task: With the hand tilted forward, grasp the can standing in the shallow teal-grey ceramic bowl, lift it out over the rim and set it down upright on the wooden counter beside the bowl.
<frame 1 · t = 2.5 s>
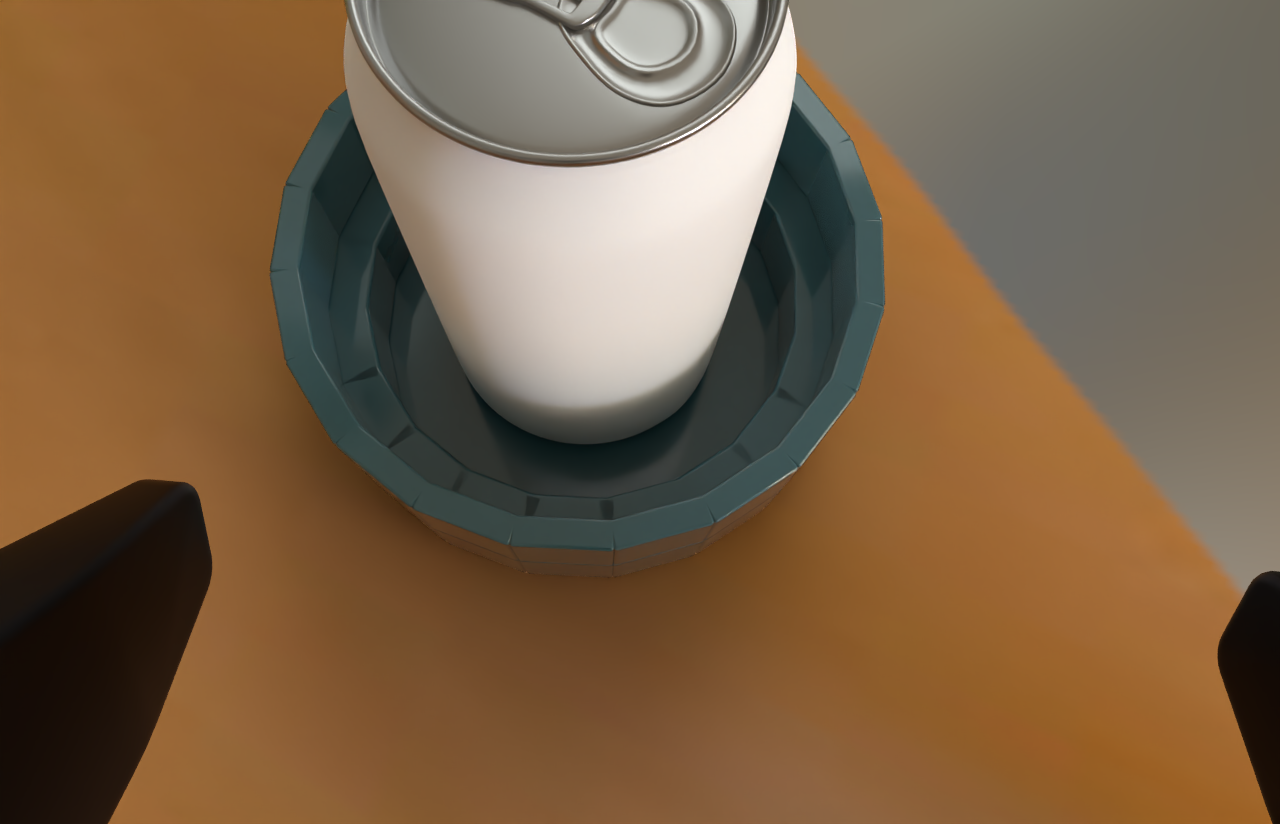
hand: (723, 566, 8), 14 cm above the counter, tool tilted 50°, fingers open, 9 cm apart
bowl: (586, 327, 24), on the counter
can: (586, 326, 24), resting on bowl
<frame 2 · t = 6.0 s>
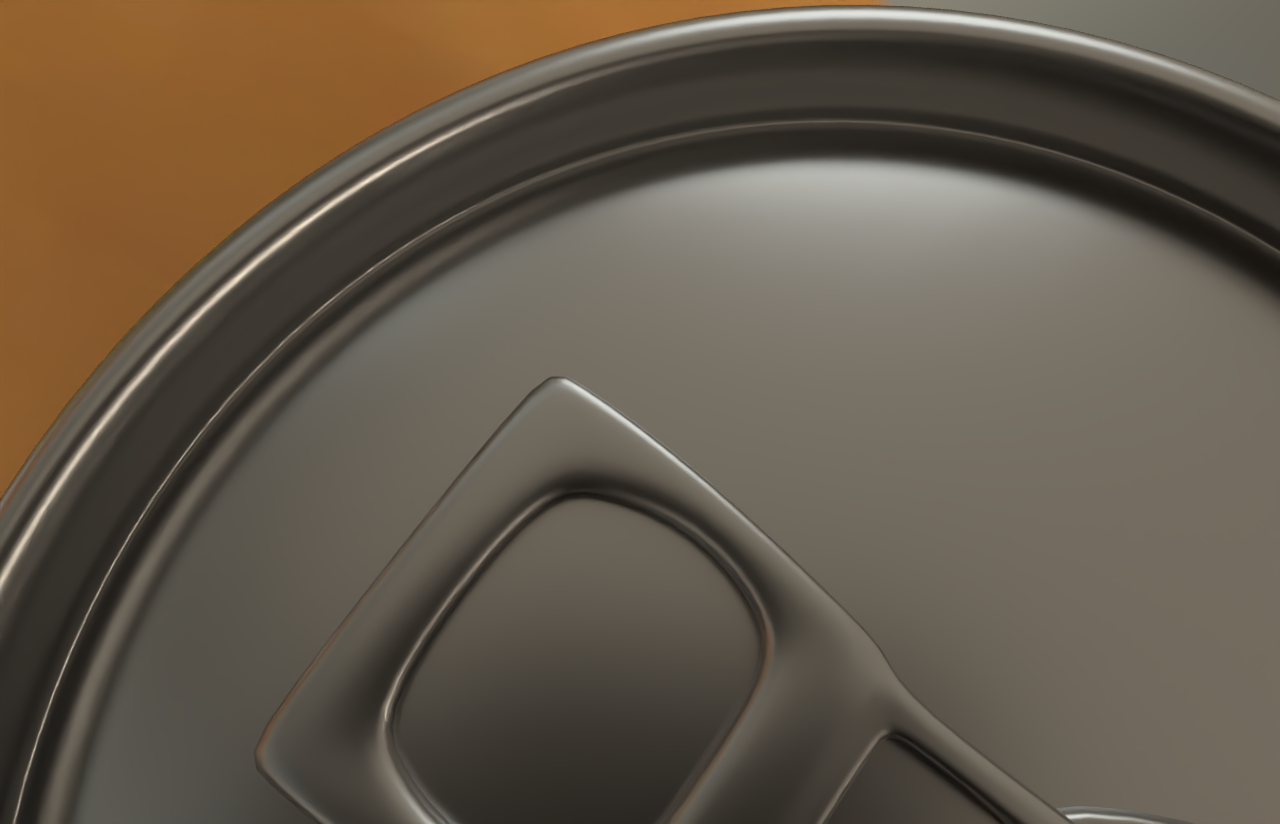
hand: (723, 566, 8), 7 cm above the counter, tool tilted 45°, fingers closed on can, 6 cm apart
can: (664, 692, 14), resting on bowl, touching gripper
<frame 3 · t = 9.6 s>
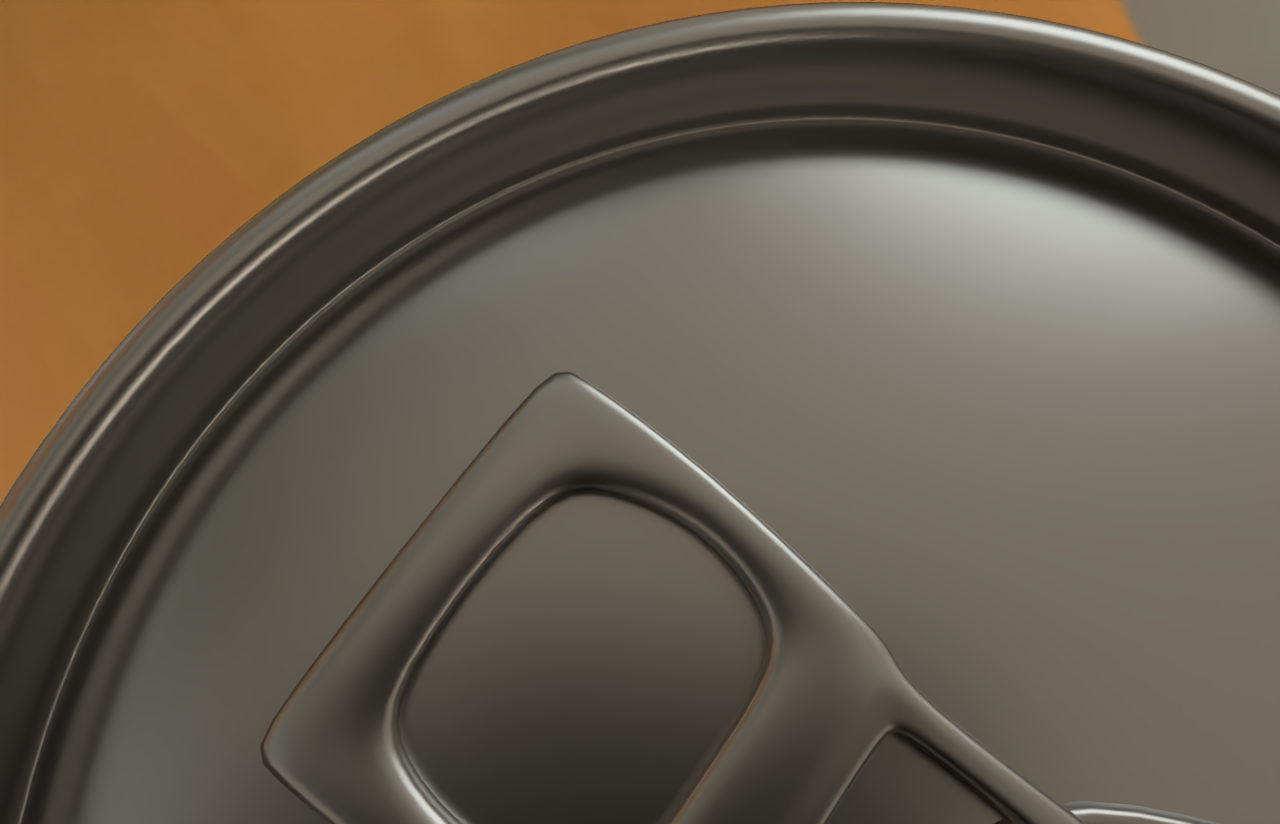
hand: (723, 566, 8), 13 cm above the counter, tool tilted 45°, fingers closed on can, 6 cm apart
can: (666, 691, 14), point 7 cm above the counter, touching gripper
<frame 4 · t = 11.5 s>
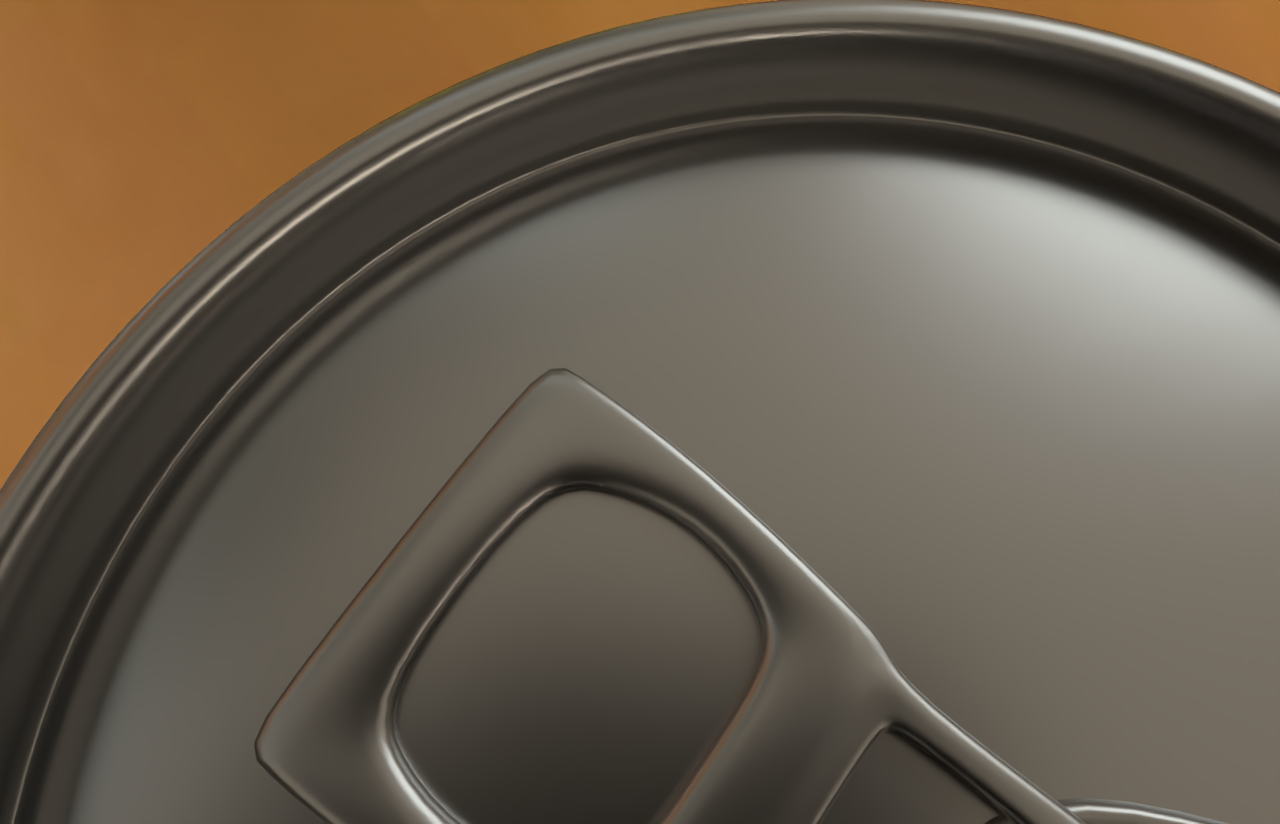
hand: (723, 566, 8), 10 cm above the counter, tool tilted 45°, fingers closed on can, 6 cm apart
can: (665, 690, 14), point 3 cm above the counter, touching gripper
when the fingers open (7 cm above the counter, at t = 13.0 s): can stays where it is, on the counter.
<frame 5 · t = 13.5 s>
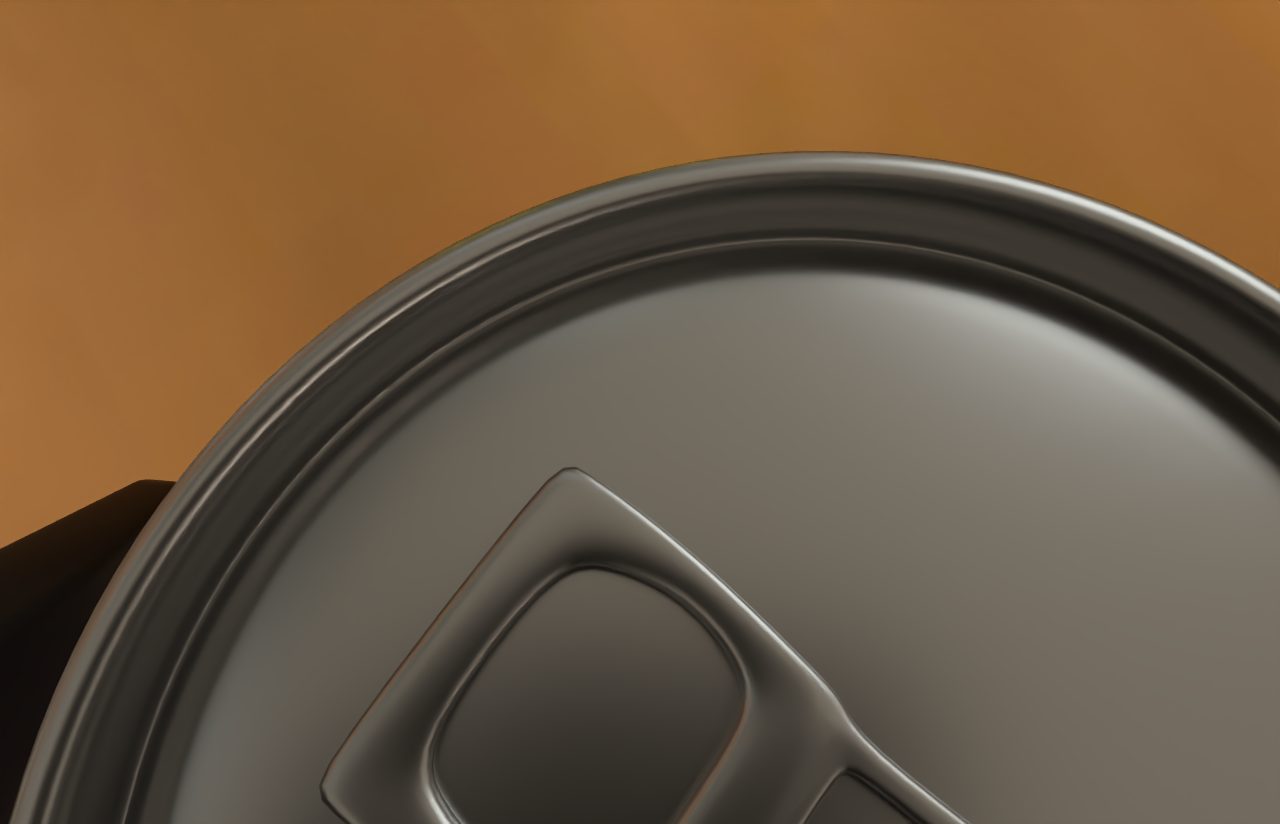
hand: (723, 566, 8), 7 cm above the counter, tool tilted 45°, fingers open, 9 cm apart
can: (663, 700, 15), on the counter
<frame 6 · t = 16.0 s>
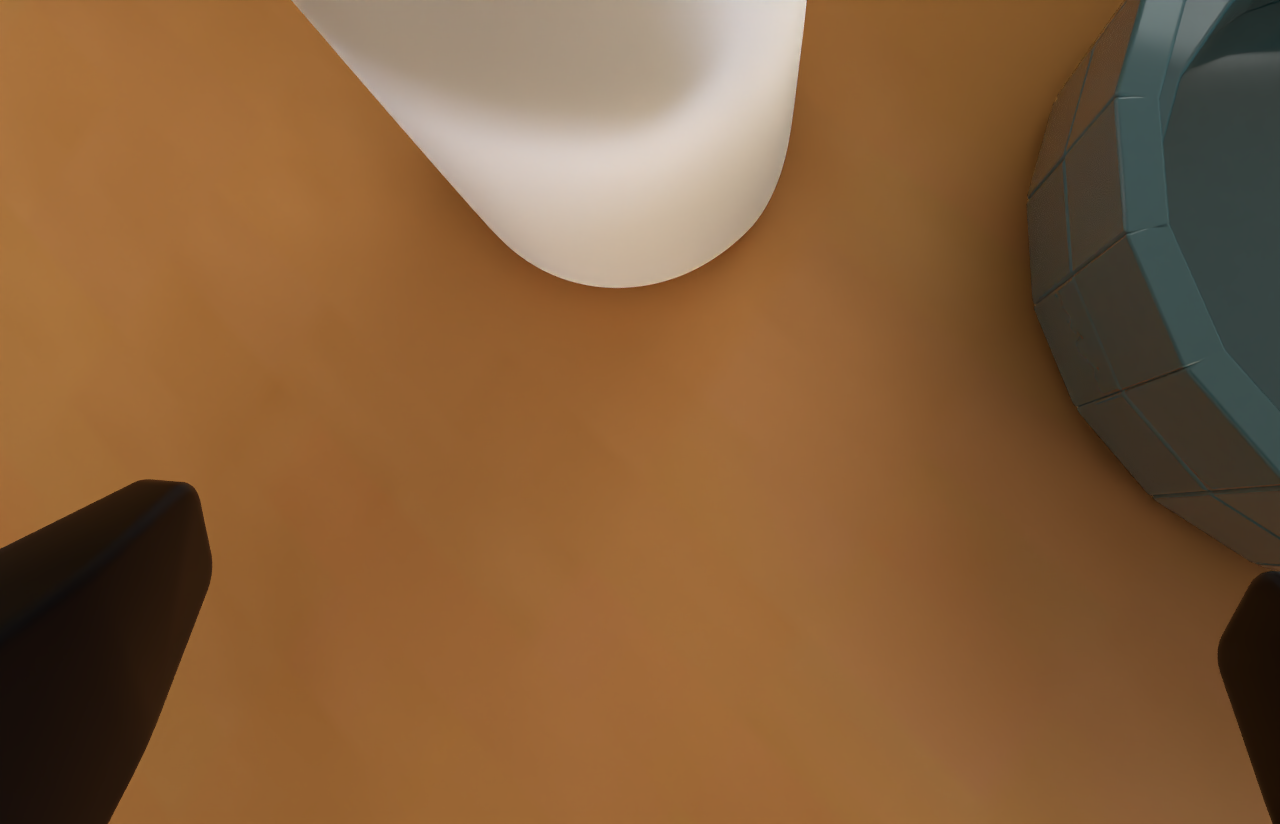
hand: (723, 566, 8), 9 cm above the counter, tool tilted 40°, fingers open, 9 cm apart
can: (626, 138, 19), on the counter
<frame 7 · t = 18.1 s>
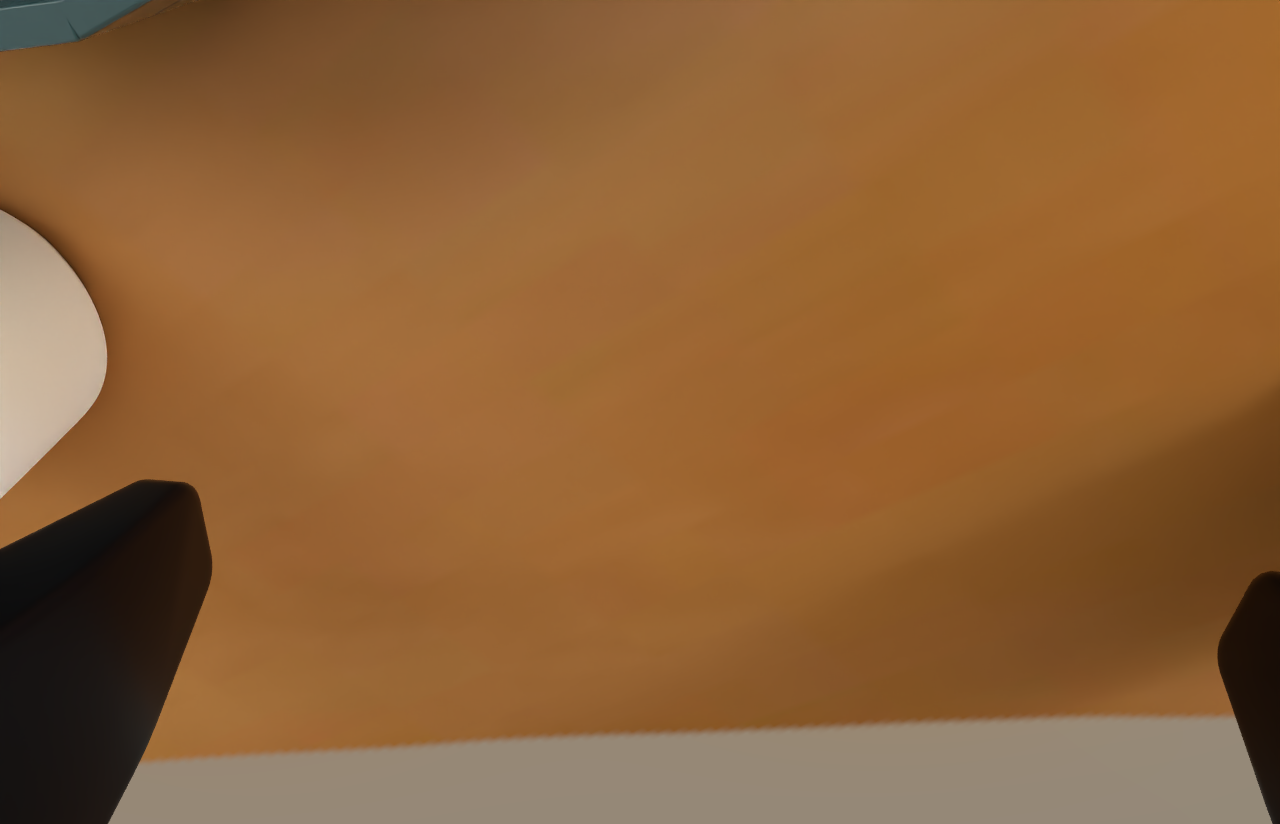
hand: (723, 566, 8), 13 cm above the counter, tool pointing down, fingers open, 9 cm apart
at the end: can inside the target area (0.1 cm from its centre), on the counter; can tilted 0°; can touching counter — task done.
